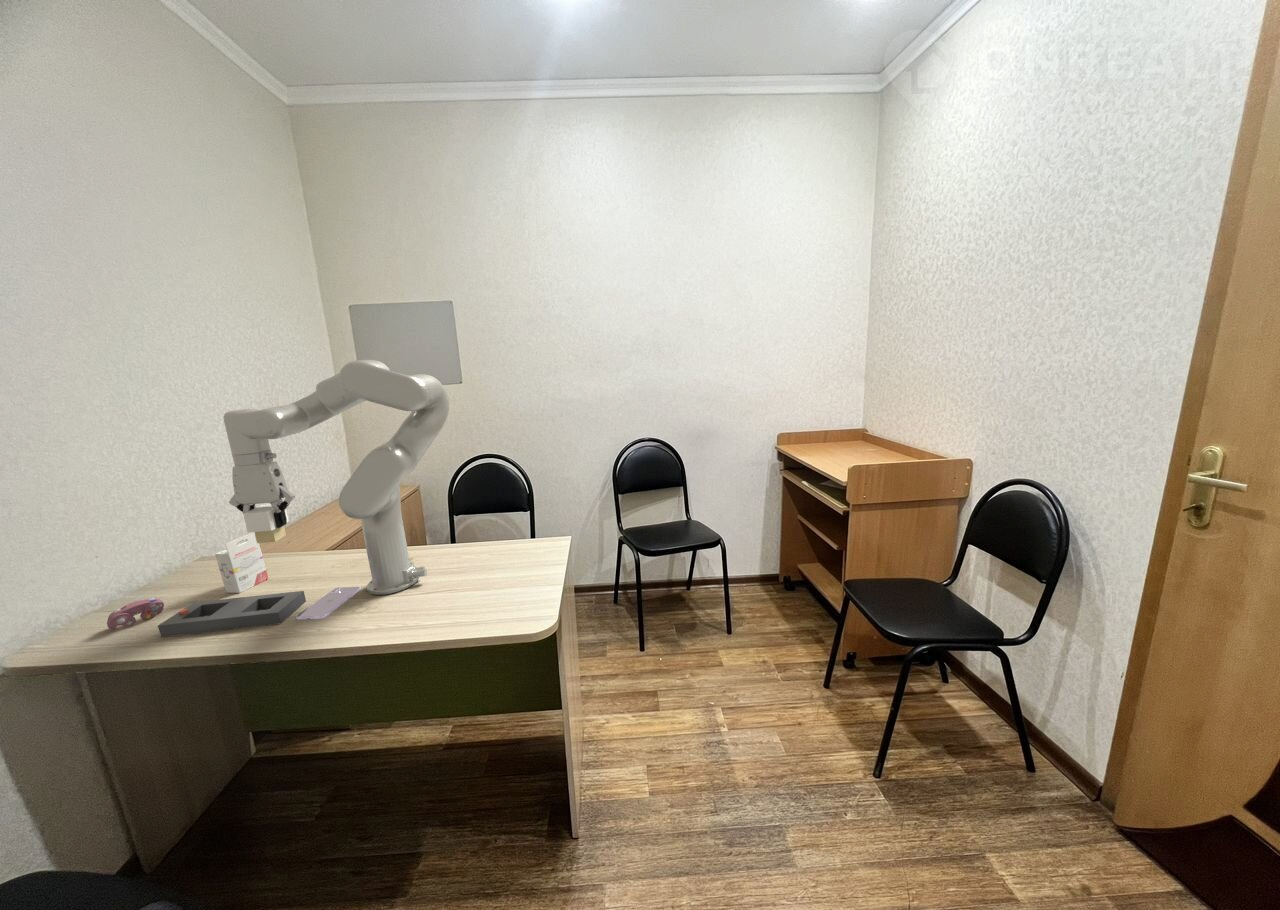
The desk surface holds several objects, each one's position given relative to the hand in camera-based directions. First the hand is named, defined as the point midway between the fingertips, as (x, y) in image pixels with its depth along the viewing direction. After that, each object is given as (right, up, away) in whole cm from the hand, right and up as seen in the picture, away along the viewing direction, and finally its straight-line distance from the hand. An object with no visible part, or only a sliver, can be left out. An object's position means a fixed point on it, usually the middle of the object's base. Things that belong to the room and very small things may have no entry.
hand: (268, 526), depth 121 cm
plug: (0, -3, +1) cm, 4 cm away
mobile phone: (+17, -20, -1) cm, 26 cm away
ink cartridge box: (-15, -19, +12) cm, 27 cm away
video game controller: (-28, -23, -5) cm, 37 cm away
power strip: (-3, -22, -6) cm, 23 cm away
